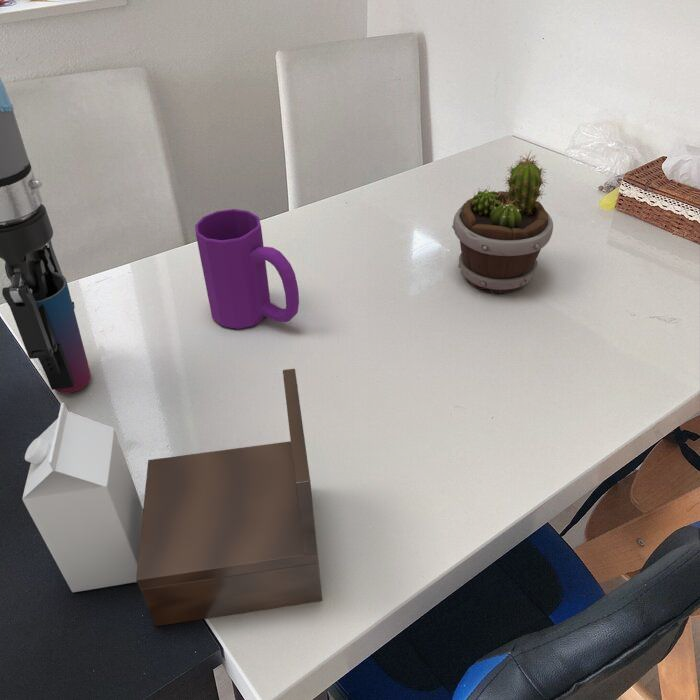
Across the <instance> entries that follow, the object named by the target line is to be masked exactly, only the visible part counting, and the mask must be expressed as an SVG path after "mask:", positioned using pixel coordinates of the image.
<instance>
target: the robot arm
mask: <svg viewBox="0 0 700 700" xmlns="http://www.w3.org/2000/svg"><path fill="white" fill-rule="evenodd" d="M14 110H15V109H14V105H13V104H12V102H11V100H10V97H9V95H8V92H7V89H6V86H5V84H4V82H3V81H2V78H1V77H0V259H2V260H3V261H4V262H5V263H4V270H5V274H6V277H7V279H8V280H9V282H10V285H11V287H9V286H6V287H5V286H4V287H2V289H1V291H2V292H1V294H2V296H3V299H4V300H5V302H6V303H7V305H8V306H9V308H10V311H11V314H12V316H13V318H14V322H15V325H16V327H17V330H18V333H19V335H20V338H21V340H22V343H23V346H24V349H25V351H26V354H27V357H28V358H29V359H30V360H33V359H38V358H39V359H40V361H39V363H40V362H41V363H40V365H41V364H42V365H41V368H42V369H43V372H44V374H45V377H46V379H47V381H48V384H49V387H50V389H51V390H52V391H53V390H54V391H56V390H55V389H64V388H72V387H74V384H75V383H74V380H73V378H72V375H71V372H70V370H69V367H68V364H67V361H66V359H65V356H64V353H63V351H62V348H61V345H60V344H56V340H55V336H54V332H53V328H52V324H51V322H50V319H49V317H48V315H47V312H46V310H45V307H44V305H43V304H42V305H41V306H40V307H39V308H38V307H37V304H36V302H35V301H40V300H43V299H45V297H51V296H53V295H55V294H56V293H57V289H56V286H55V283H54V280H53V276H54V272H57V273H60V274H62V275H63V272H62V269H61V267H60V264H59V261H58V259H57V255H56V253H55V250H54V248H53V244H52V239H53V236H54V229H53V226H52V224H51V221H50V220H51V219H50V218H49V214H48V211H47V208H46V207H45V205H44V204H43V203H42V202H43V198H42V195H41V192H40V189H41V188H42V186H43V183H42V181H41V179H39V178H35V175H34V171H33V169H32V165H31V162H30V160H29V157H28V154H27V150H26V147H25V144H24V140H23V137H22V135H21V131H20V128H19V124H18V121H17V117H16V115H15V111H14ZM63 276H64V275H63ZM32 289H35V290H32ZM72 304H73V308H74V309H75V308H76V306H75V302H74V301H72ZM39 359H38V360H39Z"/></svg>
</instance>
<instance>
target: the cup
mask: <svg viewBox="0 0 700 700" xmlns="http://www.w3.org/2000/svg"><path fill="white" fill-rule="evenodd" d="M62 274H63V273H62ZM62 274H60V273H57V272H54V276H53V280H54V283H55V286H56V289H57V293H56V294H55V295H53V296H51V297H45V299H43V300H40V301H35V302H36V304H37V307H38V308H39V307H40V306H41V305H42V304H43V305H44V307H45V310H46V312H47V315H48V317H49V319H50V322H51V324H52V328H53V332H54V336H55V340H56V344H60V345H61V348H62V351H63V353H64V356H65V359H66V361H67V364H68V367H69V370H70V372H71V375H72V378H73V380H74V383H75V384H74V387H72V388H64V389H55V390H54V391H55V392H58V393H63V394H69V393H74V392H77V391H79V390H82V389H83V388H84V387H86V386H87V385H88V384H89V383H90V381H91V378H92V374H91V370H90V367H89V362H88V358H87V354H86V351H85V347H84V343H83V339H82V335H81V331H80V327H79V323H78V320H77V316H76V312H75V308H73V304H72V302H73V300H72V296H71V293H70V288H69V285H68V281H67V278H66V277H65V276H64V275H62ZM8 287H11V284H10V285H9V286H8ZM32 290H35V289H32ZM37 360H38V362H39V363H40V365H41V366H42V364H41V362H40V359H39V358H37Z"/></svg>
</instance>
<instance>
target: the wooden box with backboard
mask: <svg viewBox="0 0 700 700" xmlns="http://www.w3.org/2000/svg"><path fill="white" fill-rule="evenodd" d="M282 377H283V387H284V395H285V403H286V404H285V405H286V413H287V422H288V430H289V439H290V441H289V440H288V441H282V442H276V443H275V442H274V443H266V444H259V445H253V446H252V445H251V446H244V447H237V448H229V449H220V450H214V451H206V452H198V453H190V454H184V455H183V454H182V455H176V456H169V457H168V456H167V457H160V458H153V459H148V460H147V469H146V477H145V478H146V479H145V489H144V499H143V517H142V527H141V537H140V547H139V557H138V567H137V577H136V581H137V582H136V584H137V586H138V588H139V590H140V593H141V596H142V598H143V600H144V602H145V604H146V607H147V609H148V612H149V615H150V617H151V619H152V621H153V624H154V627H161V626H167V625H168V626H169V625H173V624H179V623H186V622H187V623H188V622H194V621H201V620H205V619H212V618H219V617H225V616H232V615H239V614H244V613H252V612H258V611H264V610H269V609H276V608H282V607H289V606H296V605H302V604H309V603H310V604H311V603H315V602H322V601H323V591H322V581H321V572H320V571H321V570H320V563H319V552H318V551H319V550H318V543H317V533H316V521H315V514H314V513H315V512H314V505H313V504H314V503H313V502H314V501H313V493H312V484H311V476H310V468H309V461H308V460H309V459H308V453H307V446H306V439H305V432H304V423H303V417H302V410H301V402H300V395H299V389H298V387H299V386H298V380H297V374H296V369H295V368H288V369H287V368H286V369H282Z"/></svg>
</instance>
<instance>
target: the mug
mask: <svg viewBox="0 0 700 700" xmlns="http://www.w3.org/2000/svg"><path fill="white" fill-rule="evenodd" d="M194 229H195V230H194V231H195V237H196V243H197V247H198V253H199V258H200V263H201V269H202V273H203V277H204V283H205V288H206V294H207V298H208V303H209V309H210V314H211V318H212V320H213V321H215V322H216V323H218V325H220V326H221V327H225V328H231V329H236V330H237V329H244V328H250V327H251V328H252V327H254V326H255V325H257V324H259V323H260V322H261V321H262V320H263V319H265V318H266V317H267V318H268V319H270V320H271V321H275V322H278V323H288V322H290V321H291V320H292V319H293V318H294V317H295V316H296V315H297V314H298V312H299V306H300V294H299V286H298V281H297V276H296V272H295V271H294V268H293V267H292V264H291V263H290V261H289V259H287V258H286V256H285V255H284V254H283V253H282V252H281V251H280V250H279V249H277V248H274V247H273V246H272V247H271V246H264V238H263V231H262V223H261V220H260V217H259V215H256V214H254V213H252V212H251V211H250V210H245V209H238V208H237V209H236V208H230V209H223V210H216V211H214V212H211V213H209V214H207V215H204V216H202V218H200V219H199V220H198V222H197V223H195V225H194ZM267 262H268V263H270V264H271V265H272V266H273V267H274V268H275V270H276V272H277V273H278V275H279V278H280V279H281V283H282V287H283V290H284V296H285V308H282V307H280V306H278V305H277V304H274V303H272V302H271V295H270V288H269V287H270V286H269V279H268V270H267Z"/></svg>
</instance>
